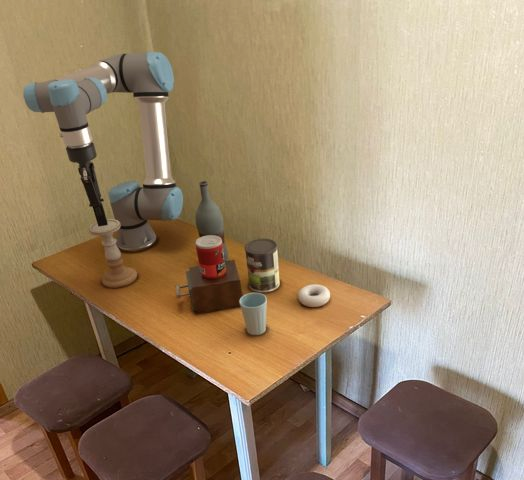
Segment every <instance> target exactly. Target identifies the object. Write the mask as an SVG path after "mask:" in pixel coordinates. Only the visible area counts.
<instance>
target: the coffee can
mask: <svg viewBox="0 0 524 480" xmlns="http://www.w3.org/2000/svg"><path fill="white" fill-rule="evenodd" d="M244 252H245V259H246V268H247V276H248V287H249V289H250V290H251V291H253V292H254V293H261V294H263V293H264V294H265V293H270V292H273V291H275V290H277V289H278V288H279V287H280V284H281V281H280V269H279V254H278V242H276V241H275V240H273V239H270V238H255V239H253V240H250V241H248V242H247V243H246V244H245V245H244Z"/></svg>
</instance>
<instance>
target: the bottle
mask: <svg viewBox="0 0 524 480" xmlns="http://www.w3.org/2000/svg"><path fill="white" fill-rule="evenodd" d="M198 184H199V190H200V196H201V197H200V198H201V200H200V202H199V205H198V207H197V209H196V211H195V216H194V217H195V226H196V229H197V232H198V237H199V238H200V237H203V236H207V235H215V236H219V237H220V238H221V240H222V244H223V251H224V258H225V261H229V251H228V248H227V244H226V242H225V241H226V240H225V229H224V223H225V222H224V218H223V217H224V216H223V214H222V211H221V208H220V207H219V206H218V205H217V204H216V203H215V202H214V201H213V199H212V198H211V196H210V190H209V185H208V184H209V183H208V181H207V180H203V181H199V183H198Z"/></svg>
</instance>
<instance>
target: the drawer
mask: <svg viewBox="0 0 524 480" xmlns="http://www.w3.org/2000/svg"><path fill="white" fill-rule="evenodd" d="M185 277H186V283H187V284H182V285H179V284H176V285H175V287H174V288H175V296H176V299H181V298H182V297H187V296H189V300H190V304H191V309H192V311H193V312H195V311H196V312H197V310H196V305H195V300H194V295H193V290H192V285H191V278H190V271H189V270H186V271H185ZM184 288H187V289H188V292H185V293H184V292H183V293H182V292H181V289H184Z"/></svg>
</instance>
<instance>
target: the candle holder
mask: <svg viewBox="0 0 524 480" xmlns="http://www.w3.org/2000/svg"><path fill="white" fill-rule="evenodd" d="M106 219H107V222H108V225H106V226H99V227H98V223H97V221H96V222H95V221H94V222H93V223H91V225H90V226H88V233H89V234H91V235H92V236H99V237H101V238H102V241H101V245H102V246H103V247H104V259H106V266H108V267H109V270H108V271H106V272H105V273H104V274H103V275H102V277H101V283H102V285H103V286H105V287H106V288H111V289H118V288H123V287H126V286H128V285H130V284H132V283H134V282H135V281H136V279H138V271H137V270H136V269H135V268H132V267H130V266H126V265H124V258H122V257H121V256H122V251H121V250H119V249H118V246H117V238H115V237H114V233H117V230H119V229H120V227H121V223H120V222H119V221H118V220H115V218H106Z"/></svg>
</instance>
